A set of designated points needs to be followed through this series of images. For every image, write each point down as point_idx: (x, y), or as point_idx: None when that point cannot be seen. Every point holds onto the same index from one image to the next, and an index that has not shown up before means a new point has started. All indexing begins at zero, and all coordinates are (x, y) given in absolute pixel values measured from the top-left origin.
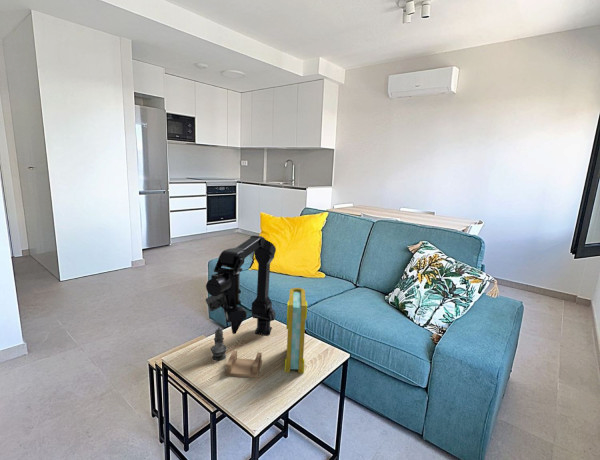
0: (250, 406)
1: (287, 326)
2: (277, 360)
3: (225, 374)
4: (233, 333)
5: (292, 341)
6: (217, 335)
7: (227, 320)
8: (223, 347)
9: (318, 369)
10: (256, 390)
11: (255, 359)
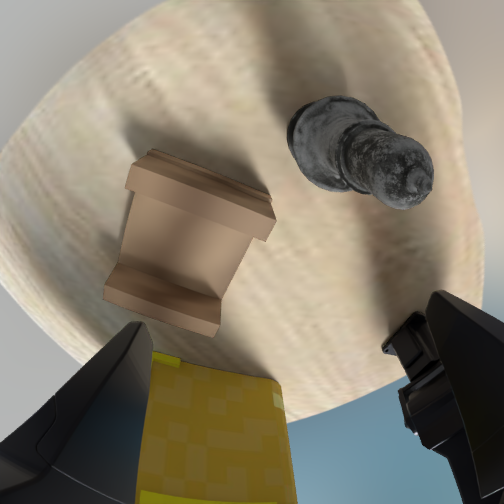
0: (6, 226)
1: (140, 499)
2: (217, 349)
3: (150, 150)
4: (128, 331)
5: None
6: (368, 148)
7: (441, 310)
8: (327, 171)
9: None
10: (59, 255)
11: (160, 307)
